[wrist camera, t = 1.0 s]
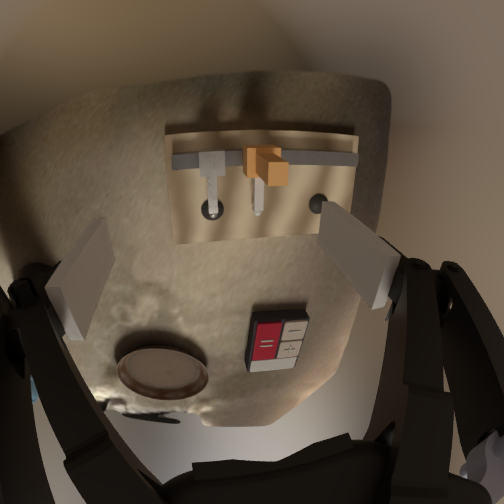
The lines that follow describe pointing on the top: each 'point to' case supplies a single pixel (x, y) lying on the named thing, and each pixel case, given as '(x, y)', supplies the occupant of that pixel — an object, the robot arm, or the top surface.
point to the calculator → (275, 339)
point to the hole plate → (242, 188)
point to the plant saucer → (162, 373)
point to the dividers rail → (218, 158)
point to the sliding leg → (264, 170)
